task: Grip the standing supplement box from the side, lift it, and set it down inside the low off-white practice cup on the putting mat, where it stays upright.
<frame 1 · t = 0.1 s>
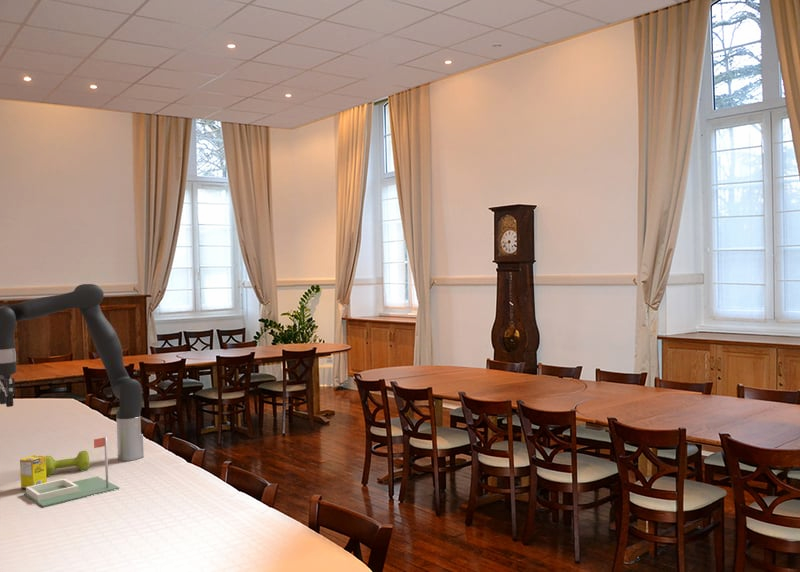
hand: (6, 405, 248), 29 cm above the table, tool pointing down, fingers open, 8 cm apart
practice cup: (52, 493, 236), on the table
supplement box: (34, 488, 244), on the table
dumbbell: (66, 472, 263), on the table
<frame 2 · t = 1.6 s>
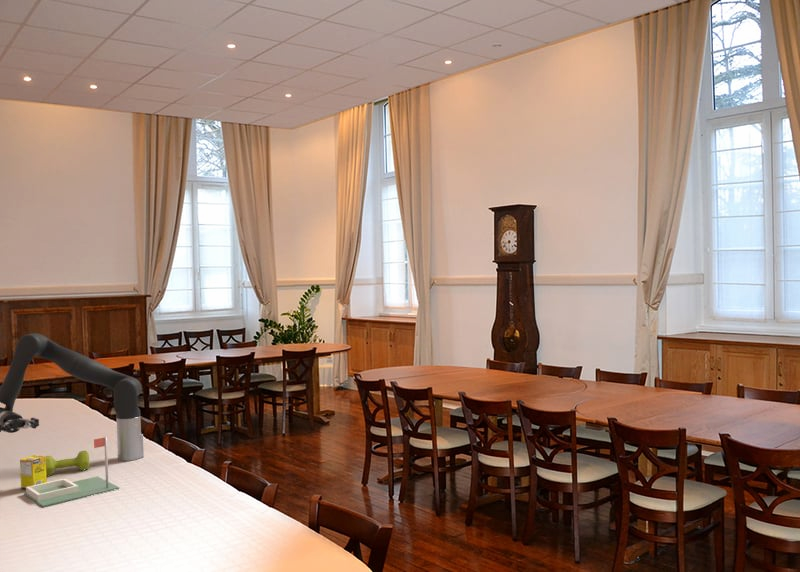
hand: (22, 427, 251), 20 cm above the table, tool horizontal, fingers open, 8 cm apart
nothing on the table moved.
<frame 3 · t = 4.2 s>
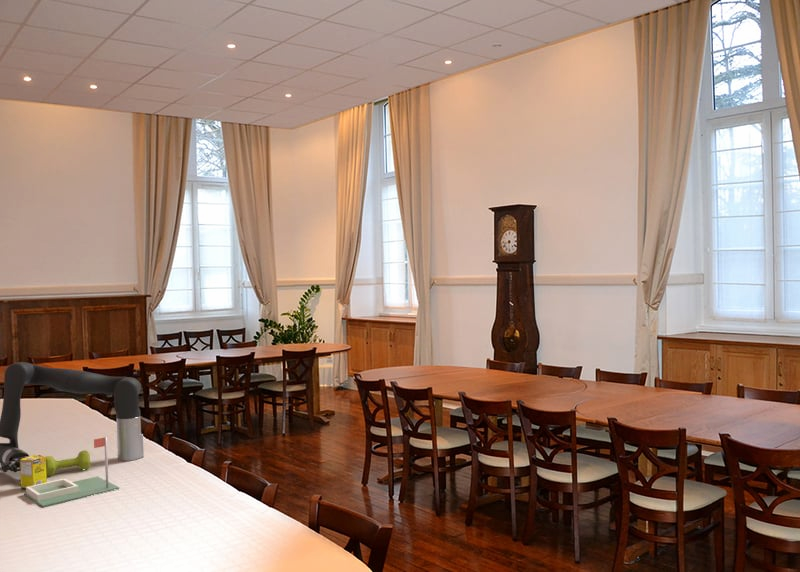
hand: (29, 467, 247), 7 cm above the table, tool horizontal, fingers open, 8 cm apart
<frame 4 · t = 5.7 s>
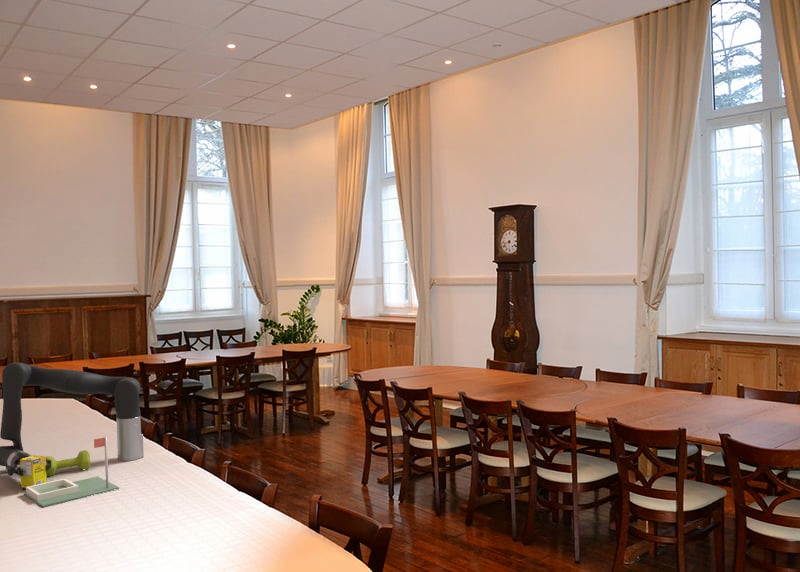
hand: (35, 470, 242), 7 cm above the table, tool horizontal, fingers closed on supplement box, 8 cm apart
supplement box: (34, 488, 244), on the table, touching gripper
everything else where it was.
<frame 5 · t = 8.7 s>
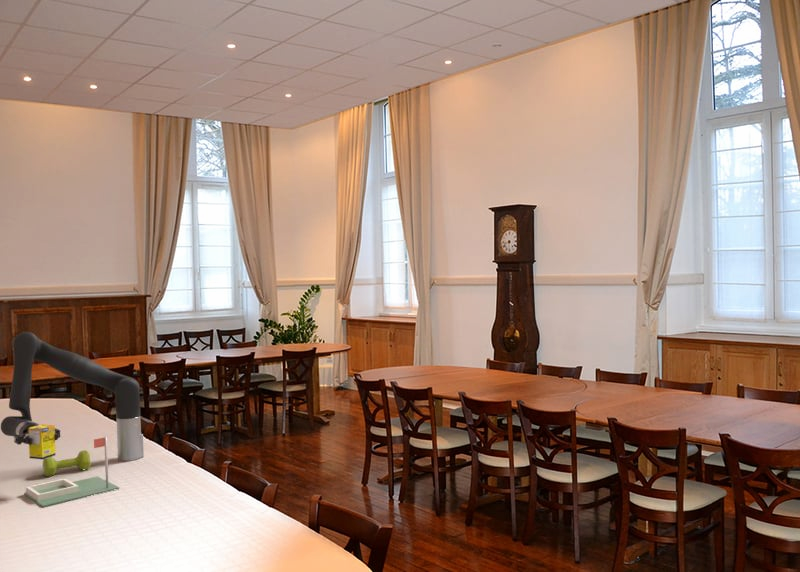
hand: (43, 439, 238), 19 cm above the table, tool horizontal, fingers closed on supplement box, 8 cm apart
supplement box: (42, 457, 239), point 12 cm above the table, touching gripper
everything else where it was.
when the fingers open (8 cm above the table, at t = 11.8 s): supplement box drops 1 cm, resting on practice cup.
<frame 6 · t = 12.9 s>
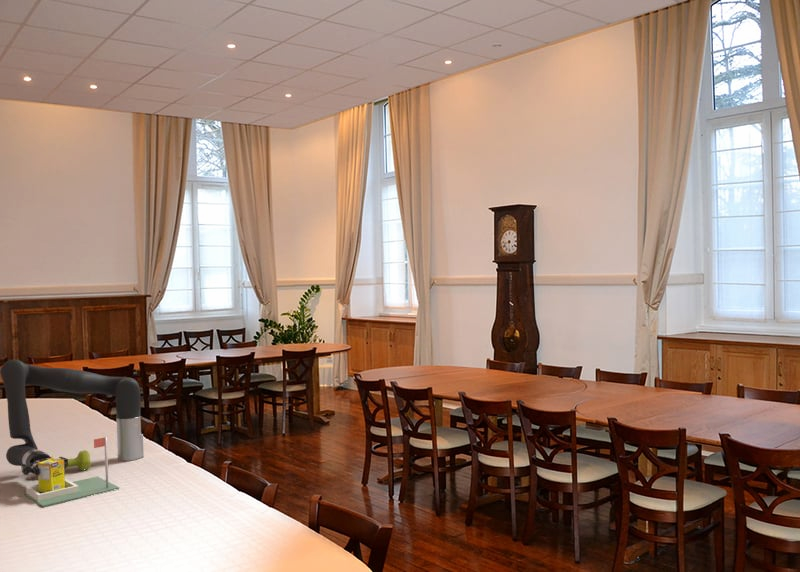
hand: (51, 469, 236), 9 cm above the table, tool horizontal, fingers open, 8 cm apart
supplement box: (52, 492, 236), resting on practice cup, touching gripper
everything else where it was.
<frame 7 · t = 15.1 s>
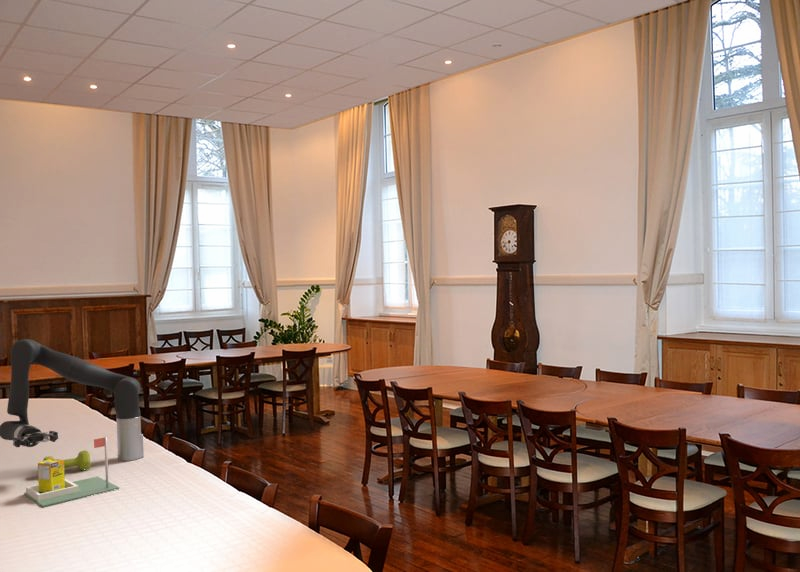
hand: (42, 441, 246), 16 cm above the table, tool horizontal, fingers open, 8 cm apart
supplement box: (52, 492, 236), resting on practice cup
everything else where it was.
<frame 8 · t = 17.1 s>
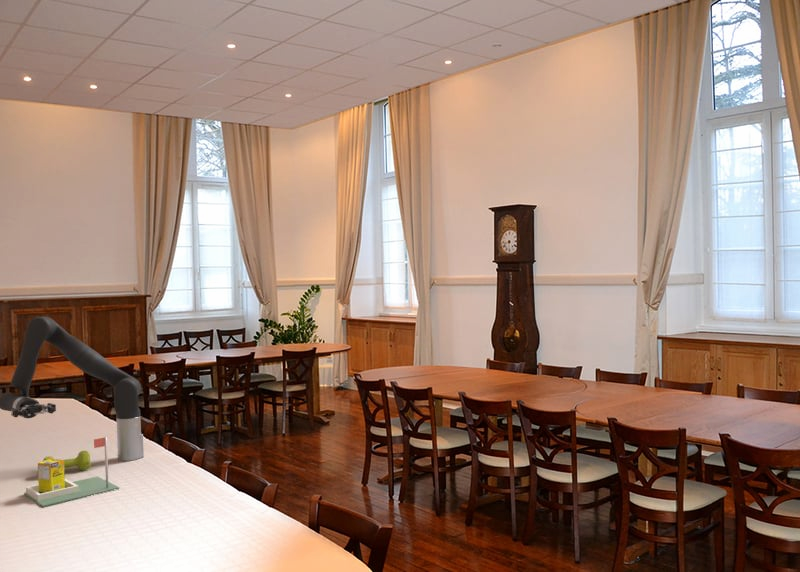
hand: (39, 412, 249), 26 cm above the table, tool horizontal, fingers open, 8 cm apart
nothing on the table moved.
at the end: supplement box inside the target area on the practice cup (0.1 cm from its centre), point 0.4 cm above the practice cup's base; supplement box tilted 0°; the gripper is holding nothing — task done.
